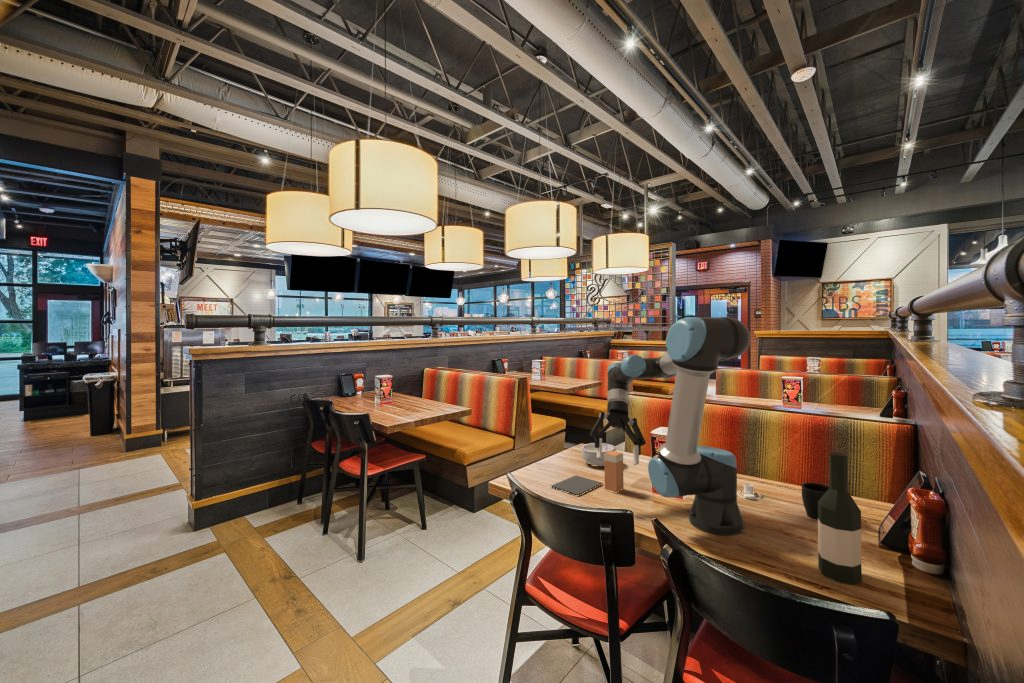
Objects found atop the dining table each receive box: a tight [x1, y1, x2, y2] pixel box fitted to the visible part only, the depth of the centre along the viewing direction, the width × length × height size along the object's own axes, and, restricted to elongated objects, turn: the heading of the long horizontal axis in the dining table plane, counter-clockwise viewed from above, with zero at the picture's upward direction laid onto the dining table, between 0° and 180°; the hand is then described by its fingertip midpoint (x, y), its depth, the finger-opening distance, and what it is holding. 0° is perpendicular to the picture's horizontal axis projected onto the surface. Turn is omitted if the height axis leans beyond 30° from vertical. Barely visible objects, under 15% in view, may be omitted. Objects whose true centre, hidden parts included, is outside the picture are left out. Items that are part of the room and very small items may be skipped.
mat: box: [550, 475, 604, 496], centre depth 164 cm, size 13×16×1 cm
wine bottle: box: [817, 449, 863, 586], centre depth 102 cm, size 8×8×30 cm
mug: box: [801, 482, 830, 521], centre depth 131 cm, size 8×12×10 cm
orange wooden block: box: [603, 450, 625, 493], centre depth 159 cm, size 5×5×14 cm
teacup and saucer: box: [737, 482, 763, 500], centre depth 151 cm, size 9×8×4 cm
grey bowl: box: [580, 442, 617, 466], centre depth 190 cm, size 15×15×8 cm
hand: (617, 461), depth 145 cm, fingers open, 13 cm apart
